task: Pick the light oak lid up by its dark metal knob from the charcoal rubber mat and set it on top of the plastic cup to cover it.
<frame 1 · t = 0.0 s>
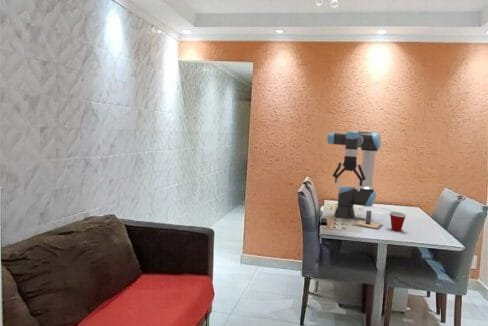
hand: (347, 189, 265), 28 cm above the table, tool pointing down, fingers open, 13 cm apart
lid: (367, 225, 292), point 1 cm above the table, touching mat
mat: (367, 226, 292), on the table
plastic cup: (396, 231, 283), on the table
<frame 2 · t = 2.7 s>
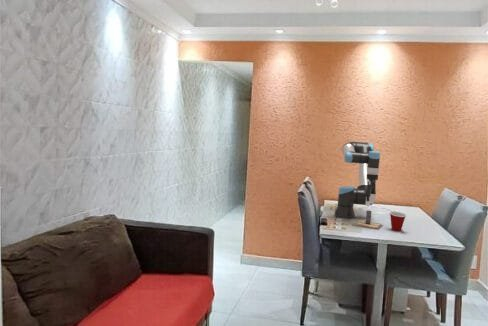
hand: (369, 204, 290), 15 cm above the table, tool pointing down, fingers open, 13 cm apart
nothing on the table moved.
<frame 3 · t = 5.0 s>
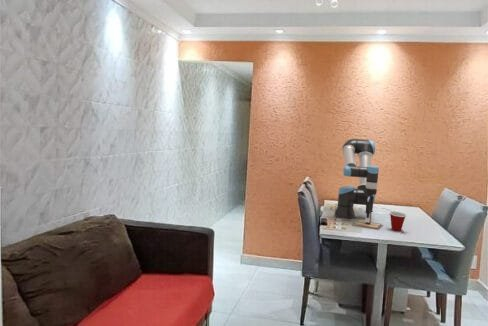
hand: (368, 221, 292), 3 cm above the table, tool pointing down, fingers closed on lid, 3 cm apart
lid: (367, 225, 292), point 1 cm above the table, touching gripper, mat
everything else where it was.
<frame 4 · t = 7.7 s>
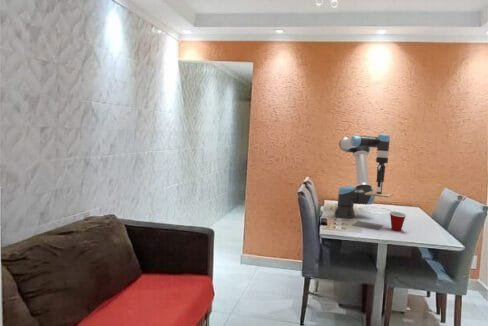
hand: (379, 191, 286), 25 cm above the table, tool pointing down, fingers closed on lid, 3 cm apart
lid: (378, 195, 287), point 23 cm above the table, touching gripper
everything else where it was.
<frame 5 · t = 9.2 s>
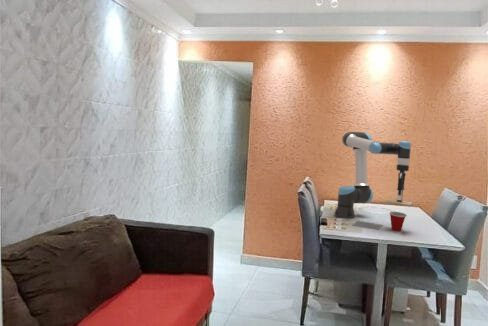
hand: (399, 199, 281), 21 cm above the table, tool pointing down, fingers closed on lid, 3 cm apart
lid: (399, 203, 281), point 19 cm above the table, touching gripper
everything else where it was.
when the fingers open (16 cm above the table, at t = 10.6 s): lid drops 2 cm, resting on plastic cup.
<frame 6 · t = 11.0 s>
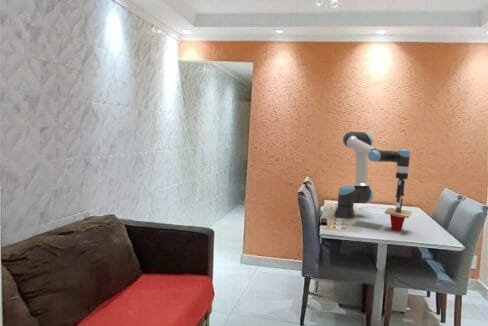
hand: (398, 206, 281), 17 cm above the table, tool pointing down, fingers open, 8 cm apart
lid: (398, 213, 282), point 12 cm above the table, touching plastic cup
plastic cup: (396, 231, 283), on the table, touching lid
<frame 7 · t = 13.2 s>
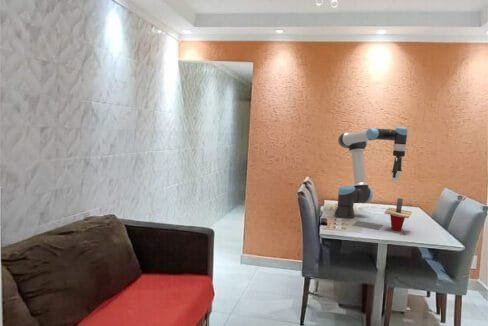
hand: (395, 181, 286), 33 cm above the table, tool pointing down, fingers open, 13 cm apart
nothing on the table moved.
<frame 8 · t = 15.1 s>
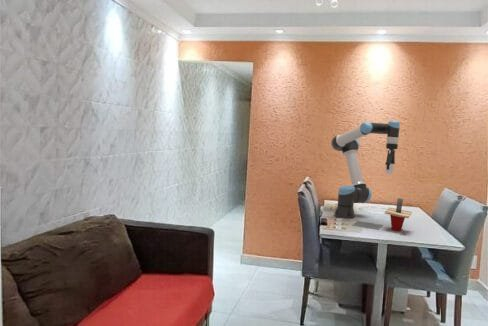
hand: (389, 173, 295), 37 cm above the table, tool pointing down, fingers open, 13 cm apart
nothing on the table moved.
at the end: lid 0.0 cm off-centre on the plastic cup, point 12.2 cm above the plastic cup's base; lid touching plastic cup; plastic cup tilted 0° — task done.
